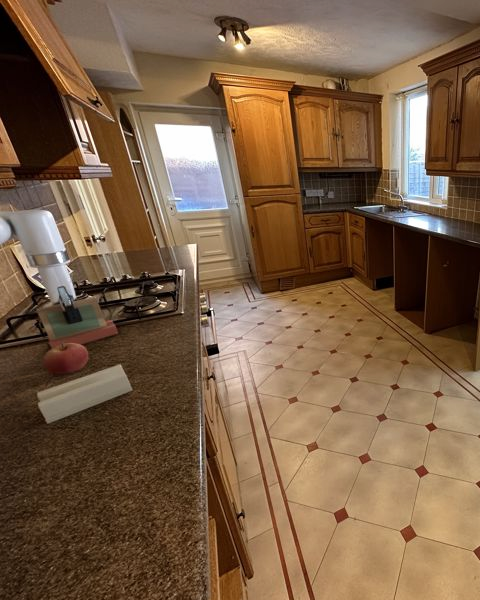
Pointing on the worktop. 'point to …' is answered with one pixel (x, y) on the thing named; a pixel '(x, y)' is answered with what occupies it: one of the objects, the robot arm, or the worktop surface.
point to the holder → (82, 393)
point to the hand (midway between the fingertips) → (74, 321)
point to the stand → (87, 335)
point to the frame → (60, 329)
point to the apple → (66, 358)
